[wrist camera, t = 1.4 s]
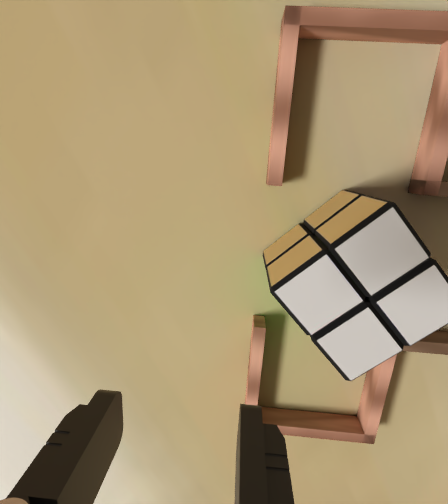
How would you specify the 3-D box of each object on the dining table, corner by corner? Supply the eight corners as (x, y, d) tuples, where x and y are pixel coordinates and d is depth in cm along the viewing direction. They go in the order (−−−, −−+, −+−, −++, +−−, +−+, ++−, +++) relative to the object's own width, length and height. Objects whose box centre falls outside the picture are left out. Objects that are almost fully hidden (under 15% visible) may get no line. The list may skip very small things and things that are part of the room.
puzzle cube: (401, 265, 30) (474, 312, 21) (318, 320, 32) (349, 386, 23) (343, 187, 28) (394, 199, 19) (260, 251, 31) (267, 291, 21)
